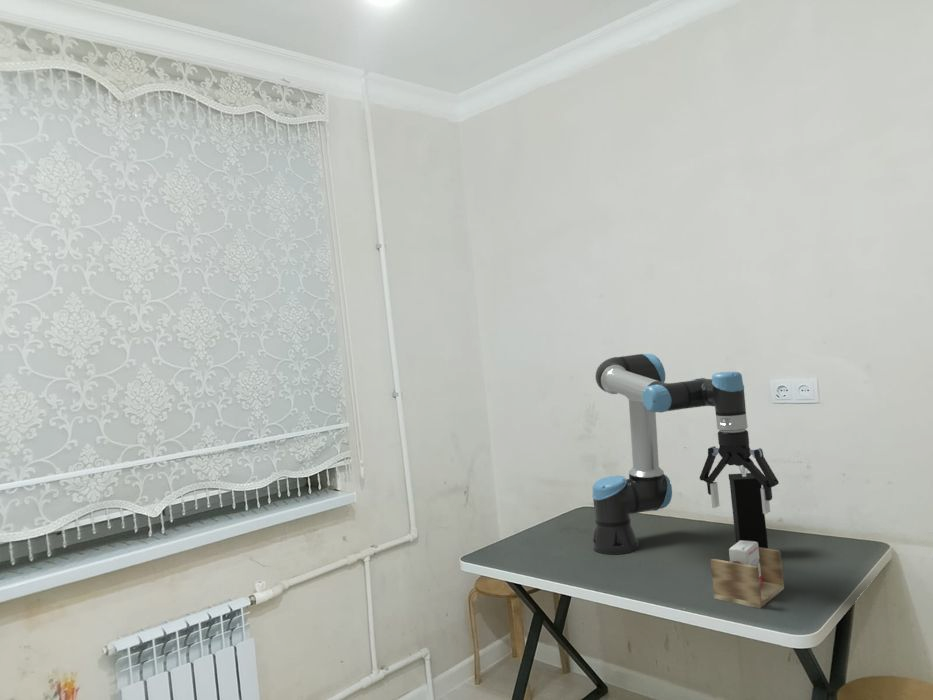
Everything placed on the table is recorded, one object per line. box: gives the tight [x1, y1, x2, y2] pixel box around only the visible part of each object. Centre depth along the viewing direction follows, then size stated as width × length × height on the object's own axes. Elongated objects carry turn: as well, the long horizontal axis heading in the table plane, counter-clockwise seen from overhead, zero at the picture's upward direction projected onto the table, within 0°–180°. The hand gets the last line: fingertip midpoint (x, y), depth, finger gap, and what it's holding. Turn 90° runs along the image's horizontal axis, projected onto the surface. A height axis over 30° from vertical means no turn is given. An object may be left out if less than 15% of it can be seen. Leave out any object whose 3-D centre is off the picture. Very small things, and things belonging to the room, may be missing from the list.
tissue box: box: [728, 465, 769, 549], centre depth 198 cm, size 8×8×28 cm
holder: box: [709, 547, 785, 609], centre depth 171 cm, size 12×15×10 cm
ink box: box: [728, 540, 762, 586], centre depth 171 cm, size 8×5×12 cm, turn 137°
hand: (740, 509), depth 171 cm, fingers open, 13 cm apart
